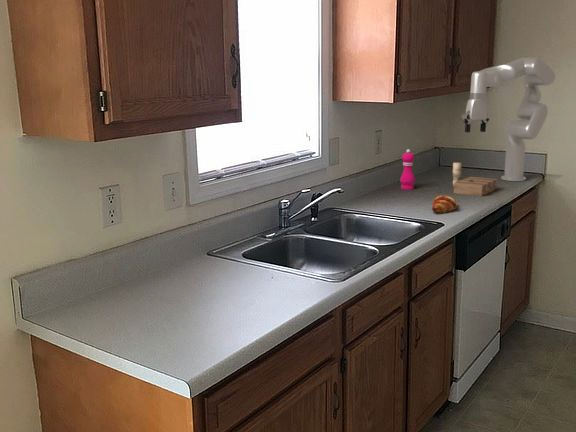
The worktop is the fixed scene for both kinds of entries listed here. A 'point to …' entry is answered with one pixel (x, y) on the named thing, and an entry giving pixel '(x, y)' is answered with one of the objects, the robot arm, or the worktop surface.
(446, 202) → the croissant
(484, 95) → the robot arm
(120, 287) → the worktop surface
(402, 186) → the pepper mill
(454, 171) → the peg
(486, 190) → the board
